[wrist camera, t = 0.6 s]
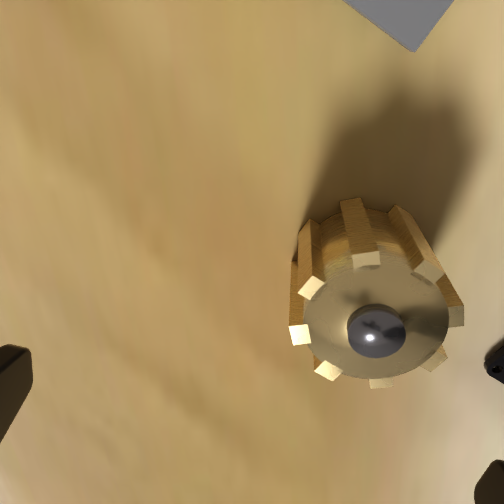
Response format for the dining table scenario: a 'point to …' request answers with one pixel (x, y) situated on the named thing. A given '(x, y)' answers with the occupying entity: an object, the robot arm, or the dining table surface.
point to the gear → (370, 295)
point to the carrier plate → (403, 17)
